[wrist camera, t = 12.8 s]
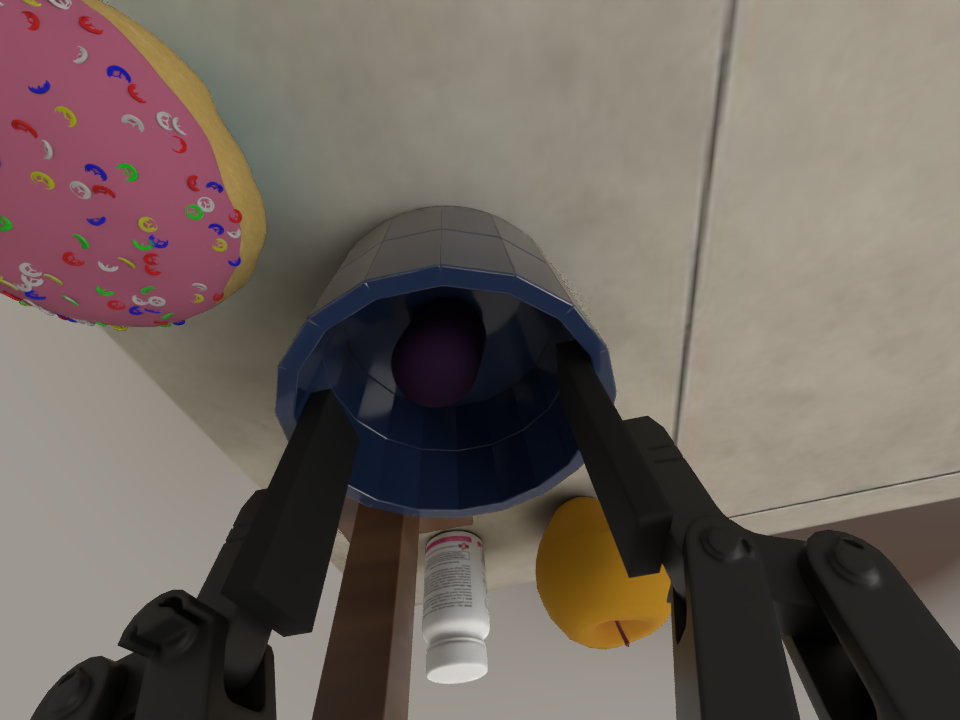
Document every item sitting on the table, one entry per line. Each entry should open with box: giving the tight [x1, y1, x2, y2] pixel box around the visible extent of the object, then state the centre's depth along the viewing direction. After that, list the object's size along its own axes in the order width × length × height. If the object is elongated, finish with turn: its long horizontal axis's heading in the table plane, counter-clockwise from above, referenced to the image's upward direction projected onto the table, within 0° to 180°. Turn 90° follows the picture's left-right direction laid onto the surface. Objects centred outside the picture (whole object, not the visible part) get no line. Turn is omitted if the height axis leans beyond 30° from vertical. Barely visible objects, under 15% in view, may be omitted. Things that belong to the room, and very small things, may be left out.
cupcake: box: [0, 0, 267, 331], centre depth 8 cm, size 9×8×12 cm
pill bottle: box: [422, 531, 490, 684], centre depth 27 cm, size 5×5×8 cm
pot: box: [275, 206, 616, 518], centre depth 15 cm, size 11×11×7 cm
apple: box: [536, 497, 671, 649], centre depth 25 cm, size 9×9×9 cm
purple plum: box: [391, 299, 486, 408], centre depth 15 cm, size 4×4×5 cm
